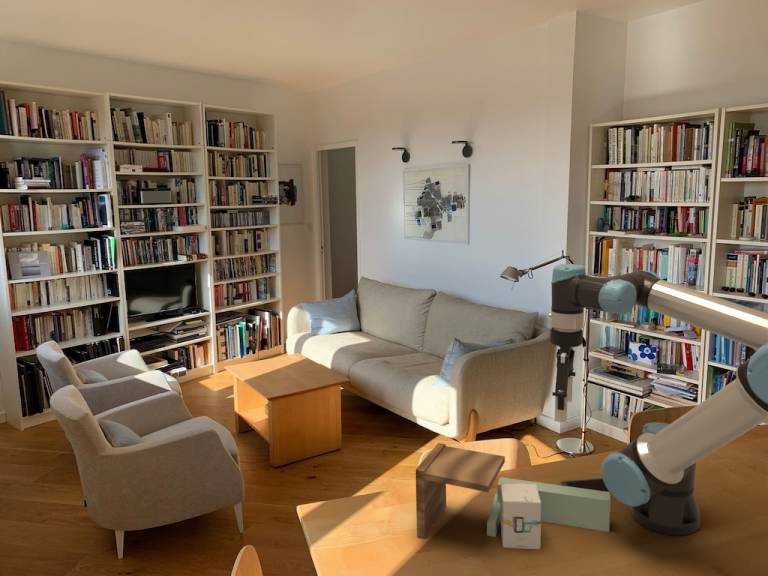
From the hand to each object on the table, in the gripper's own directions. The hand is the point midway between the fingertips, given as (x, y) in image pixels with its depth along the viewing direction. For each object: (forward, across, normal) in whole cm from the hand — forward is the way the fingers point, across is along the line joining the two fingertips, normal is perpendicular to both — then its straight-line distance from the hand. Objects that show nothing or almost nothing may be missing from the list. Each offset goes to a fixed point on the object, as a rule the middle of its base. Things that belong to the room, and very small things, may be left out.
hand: (563, 410), depth 145 cm
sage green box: (+25, +13, -1) cm, 28 cm away
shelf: (+25, +20, -21) cm, 38 cm away
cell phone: (+25, -10, +7) cm, 28 cm away
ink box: (+25, +19, -7) cm, 32 cm away
